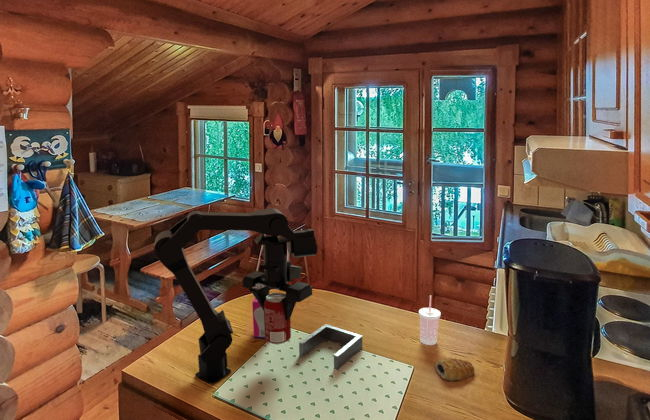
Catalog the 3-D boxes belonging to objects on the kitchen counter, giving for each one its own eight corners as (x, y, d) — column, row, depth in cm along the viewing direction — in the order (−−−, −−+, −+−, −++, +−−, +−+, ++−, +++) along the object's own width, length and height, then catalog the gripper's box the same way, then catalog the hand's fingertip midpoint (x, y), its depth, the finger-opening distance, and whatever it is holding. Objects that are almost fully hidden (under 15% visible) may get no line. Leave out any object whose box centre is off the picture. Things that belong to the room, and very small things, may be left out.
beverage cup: (441, 338, 128) (444, 293, 125) (436, 348, 123) (439, 301, 120) (420, 334, 131) (422, 290, 128) (414, 343, 126) (417, 297, 123)
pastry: (465, 363, 116) (466, 350, 115) (479, 378, 109) (481, 365, 109) (432, 368, 114) (433, 355, 113) (445, 384, 107) (446, 370, 106)
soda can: (287, 347, 111) (285, 303, 109) (261, 344, 112) (259, 301, 110) (293, 334, 118) (292, 292, 115) (269, 332, 119) (268, 290, 116)
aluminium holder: (337, 370, 113) (337, 356, 112) (299, 355, 119) (299, 342, 118) (362, 348, 123) (362, 335, 122) (325, 336, 130) (325, 323, 129)
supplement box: (276, 329, 134) (275, 294, 131) (272, 339, 128) (271, 302, 126) (258, 328, 134) (256, 293, 132) (253, 338, 129) (251, 302, 126)
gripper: (324, 256, 112) (324, 313, 115) (267, 245, 122) (269, 297, 125) (298, 270, 103) (299, 331, 106) (239, 256, 113) (242, 312, 116)
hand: (277, 316), depth 114 cm, fingers closed on soda can, 7 cm apart
